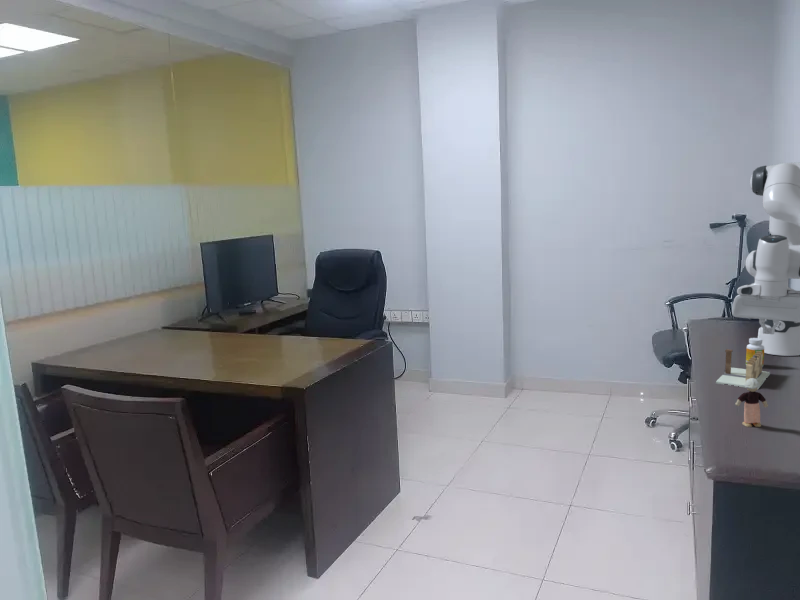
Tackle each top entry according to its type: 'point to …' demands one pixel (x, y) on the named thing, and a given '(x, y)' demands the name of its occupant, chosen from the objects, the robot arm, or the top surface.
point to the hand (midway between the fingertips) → (768, 333)
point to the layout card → (740, 377)
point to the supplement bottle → (754, 348)
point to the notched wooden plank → (751, 368)
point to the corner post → (728, 361)
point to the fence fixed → (758, 362)
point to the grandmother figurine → (751, 403)
